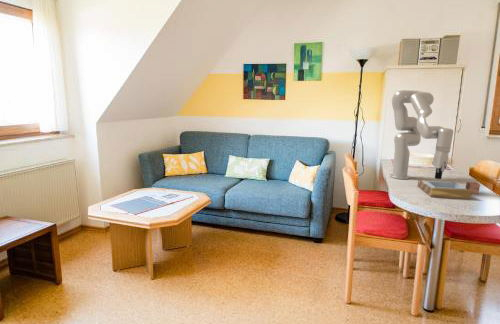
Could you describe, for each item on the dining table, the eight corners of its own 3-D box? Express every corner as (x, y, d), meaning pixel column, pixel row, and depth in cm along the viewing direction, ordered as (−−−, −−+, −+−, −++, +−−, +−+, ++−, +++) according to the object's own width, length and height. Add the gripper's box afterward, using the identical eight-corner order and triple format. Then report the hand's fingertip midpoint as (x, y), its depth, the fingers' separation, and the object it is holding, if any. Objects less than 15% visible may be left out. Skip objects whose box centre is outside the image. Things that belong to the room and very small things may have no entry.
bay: (417, 186, 204) (418, 178, 203) (451, 188, 201) (452, 180, 200) (430, 197, 182) (431, 188, 181) (469, 199, 179) (471, 190, 178)
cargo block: (465, 191, 194) (466, 181, 193) (474, 191, 193) (475, 182, 192) (469, 193, 189) (470, 183, 188) (478, 194, 189) (480, 184, 187)
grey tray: (425, 187, 196) (425, 181, 195) (454, 189, 193) (455, 182, 192) (433, 194, 183) (434, 187, 182) (465, 196, 180) (466, 188, 179)
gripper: (431, 146, 200) (427, 174, 204) (440, 151, 186) (435, 181, 190) (444, 147, 199) (439, 175, 203) (455, 152, 184) (449, 182, 189)
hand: (437, 178), depth 197 cm, fingers closed
